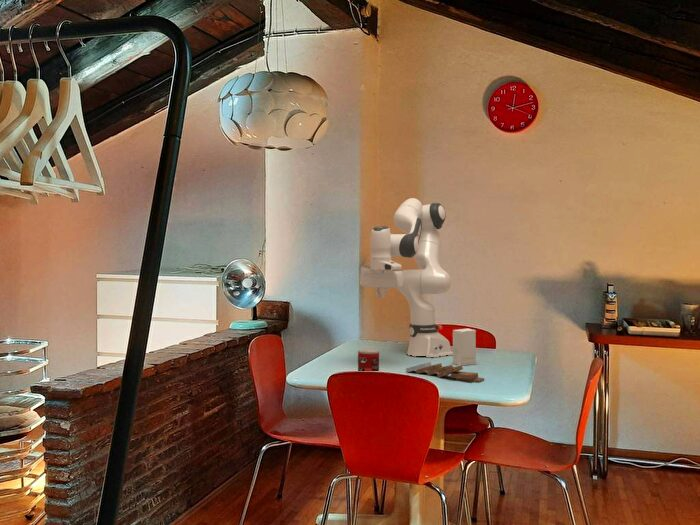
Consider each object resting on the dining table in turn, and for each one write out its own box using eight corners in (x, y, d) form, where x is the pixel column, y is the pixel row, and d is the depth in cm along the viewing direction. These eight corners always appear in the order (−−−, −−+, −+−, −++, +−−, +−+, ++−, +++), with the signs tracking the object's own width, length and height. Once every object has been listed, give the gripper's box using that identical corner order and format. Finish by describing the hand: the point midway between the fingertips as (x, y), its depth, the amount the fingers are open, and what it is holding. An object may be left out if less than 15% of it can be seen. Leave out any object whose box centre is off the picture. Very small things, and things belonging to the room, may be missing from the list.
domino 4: (436, 373, 276) (452, 367, 269) (445, 371, 279) (461, 365, 272) (438, 377, 275) (454, 371, 269) (447, 375, 279) (463, 369, 272)
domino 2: (416, 369, 283) (435, 364, 278) (422, 368, 287) (441, 363, 282) (417, 373, 283) (436, 368, 278) (423, 371, 287) (442, 367, 282)
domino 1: (405, 368, 286) (424, 363, 281) (412, 366, 290) (430, 361, 285) (406, 372, 285) (425, 367, 280) (413, 370, 290) (431, 365, 284)
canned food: (357, 377, 276) (357, 348, 276) (377, 376, 277) (377, 348, 276) (359, 381, 268) (359, 352, 268) (380, 380, 269) (380, 351, 269)
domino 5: (450, 373, 272) (470, 375, 265) (458, 371, 275) (477, 372, 269) (450, 377, 272) (470, 379, 265) (458, 375, 275) (478, 377, 269)
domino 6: (456, 377, 271) (478, 380, 266) (462, 375, 275) (484, 378, 270) (456, 381, 271) (478, 384, 266) (462, 379, 275) (484, 382, 270)
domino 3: (426, 371, 280) (444, 366, 274) (434, 369, 284) (452, 364, 278) (427, 375, 280) (445, 370, 274) (435, 373, 283) (453, 368, 278)
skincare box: (468, 362, 308) (468, 328, 308) (476, 364, 303) (476, 329, 302) (451, 363, 305) (452, 329, 304) (460, 366, 299) (460, 330, 299)
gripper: (356, 264, 303) (356, 297, 304) (396, 266, 291) (396, 300, 291) (365, 264, 308) (365, 296, 309) (405, 265, 296) (405, 298, 296)
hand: (380, 298), depth 300 cm, fingers closed
